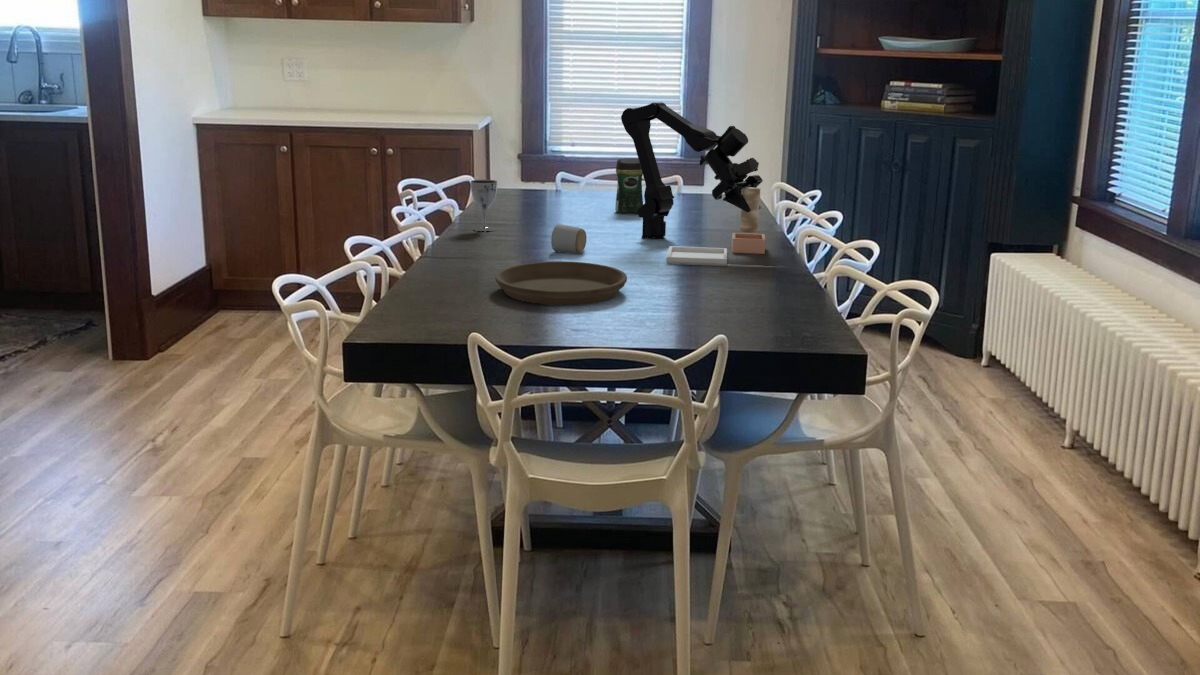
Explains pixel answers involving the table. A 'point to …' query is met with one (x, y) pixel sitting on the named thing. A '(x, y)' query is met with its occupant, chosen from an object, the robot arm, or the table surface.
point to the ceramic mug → (568, 239)
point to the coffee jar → (629, 186)
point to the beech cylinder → (752, 218)
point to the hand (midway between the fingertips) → (754, 210)
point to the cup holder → (748, 243)
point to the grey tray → (697, 256)
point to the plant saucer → (561, 282)
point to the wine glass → (484, 195)
